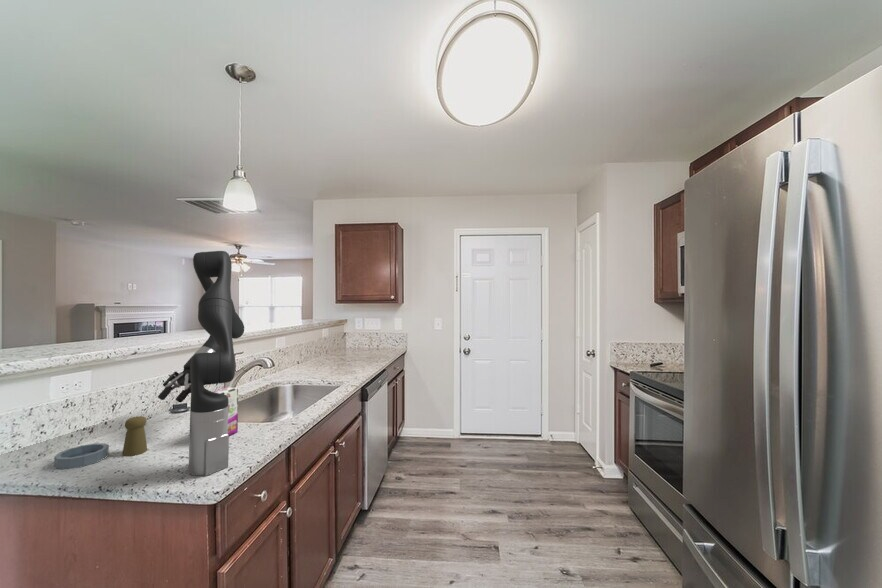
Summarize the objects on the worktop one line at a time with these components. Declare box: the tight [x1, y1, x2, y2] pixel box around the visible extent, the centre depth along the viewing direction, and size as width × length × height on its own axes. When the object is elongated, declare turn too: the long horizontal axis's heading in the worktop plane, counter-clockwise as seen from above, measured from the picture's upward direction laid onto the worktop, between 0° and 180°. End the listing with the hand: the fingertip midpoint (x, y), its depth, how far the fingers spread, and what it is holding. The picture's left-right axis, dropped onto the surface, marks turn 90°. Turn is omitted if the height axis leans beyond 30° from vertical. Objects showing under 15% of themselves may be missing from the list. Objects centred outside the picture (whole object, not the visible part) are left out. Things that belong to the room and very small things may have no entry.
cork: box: [121, 415, 148, 457], centre depth 110 cm, size 6×6×11 cm
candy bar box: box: [213, 386, 239, 437], centre depth 123 cm, size 11×5×16 cm, turn 171°
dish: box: [53, 442, 110, 470], centre depth 104 cm, size 11×11×3 cm
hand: (169, 400), depth 120 cm, fingers open, 8 cm apart
